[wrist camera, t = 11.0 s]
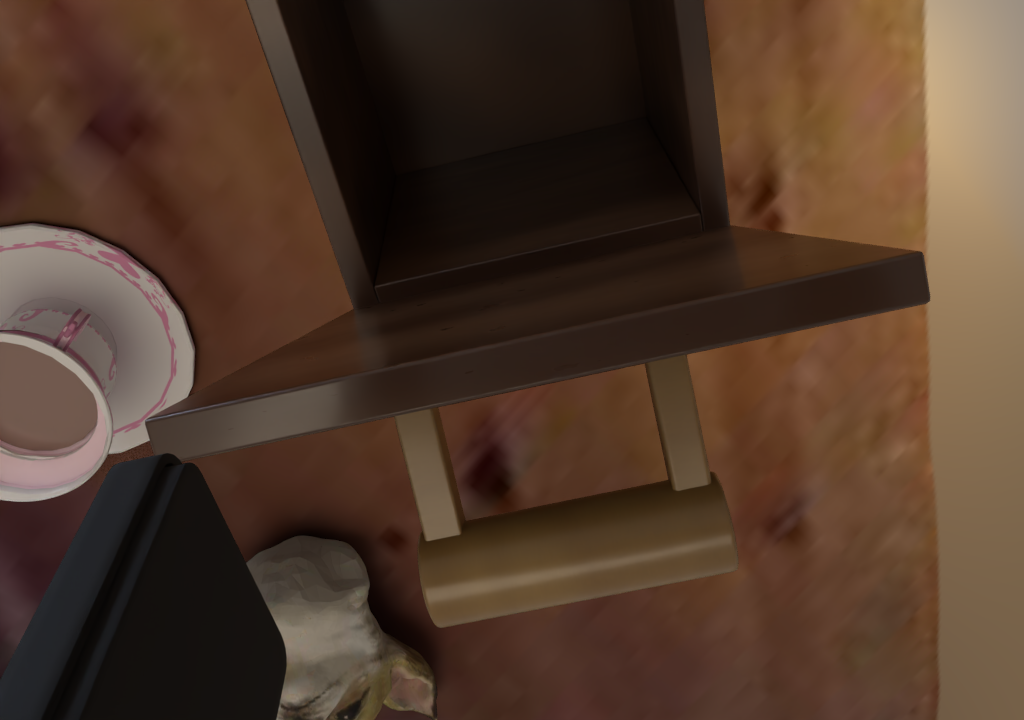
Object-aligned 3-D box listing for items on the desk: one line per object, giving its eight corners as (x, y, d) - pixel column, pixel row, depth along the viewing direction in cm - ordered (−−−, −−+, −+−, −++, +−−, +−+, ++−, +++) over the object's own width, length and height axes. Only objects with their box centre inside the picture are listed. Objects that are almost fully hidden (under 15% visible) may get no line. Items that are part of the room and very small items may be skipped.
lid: (141, 419, 15) (229, 719, 16) (925, 250, 14) (975, 579, 15) (351, 309, 30) (390, 464, 31) (732, 224, 29) (762, 386, 30)
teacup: (123, 489, 48) (79, 575, 42) (-117, 365, 44) (-199, 442, 38) (246, 320, 43) (214, 393, 38) (-10, 165, 39) (-85, 222, 34)
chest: (261, -200, 33) (173, -201, 23) (605, -293, 32) (665, -334, 22) (383, 191, 40) (355, 315, 31) (666, 125, 39) (731, 231, 30)
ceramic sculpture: (377, 621, 41) (446, 814, 49) (391, 487, 48) (448, 675, 56) (138, 655, 41) (245, 839, 50) (187, 517, 49) (274, 698, 57)
